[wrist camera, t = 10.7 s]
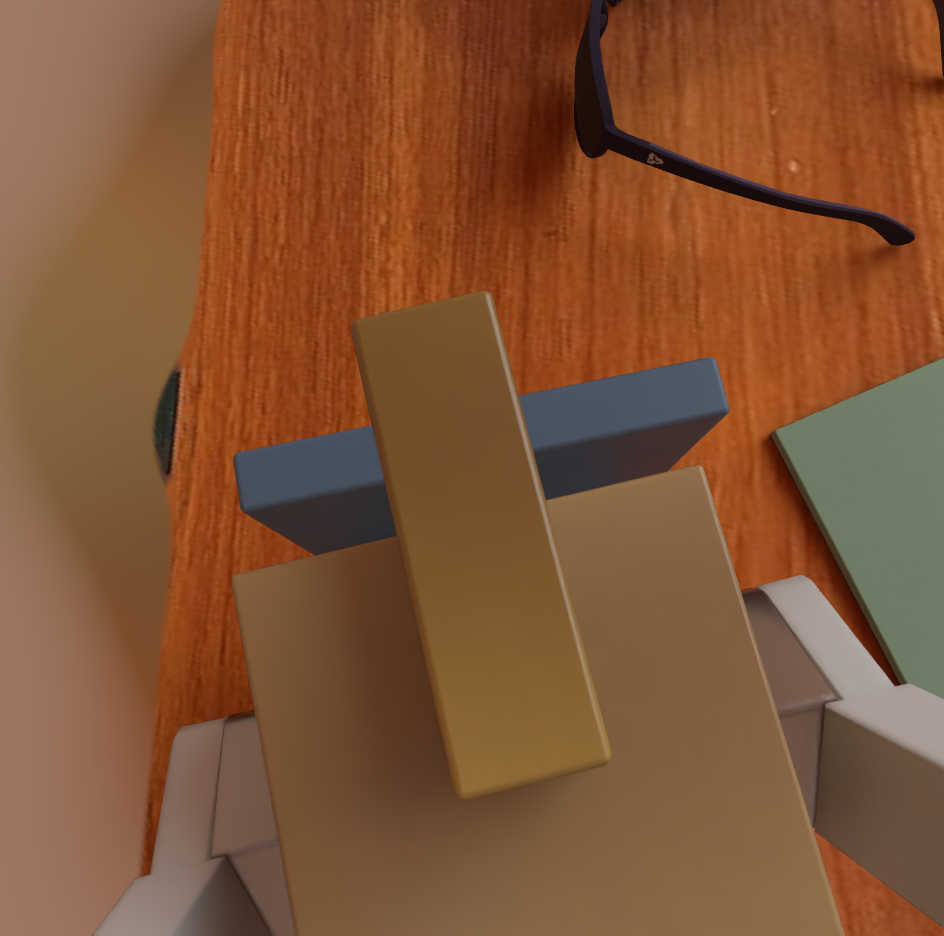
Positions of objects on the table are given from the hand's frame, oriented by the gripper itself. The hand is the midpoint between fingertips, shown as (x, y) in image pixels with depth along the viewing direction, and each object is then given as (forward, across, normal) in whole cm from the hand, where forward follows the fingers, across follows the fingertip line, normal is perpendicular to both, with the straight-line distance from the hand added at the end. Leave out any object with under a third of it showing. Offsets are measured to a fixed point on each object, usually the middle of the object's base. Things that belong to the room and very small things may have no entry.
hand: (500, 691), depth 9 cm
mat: (+17, -19, +17) cm, 30 cm away
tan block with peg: (+2, 0, +3) cm, 4 cm away
